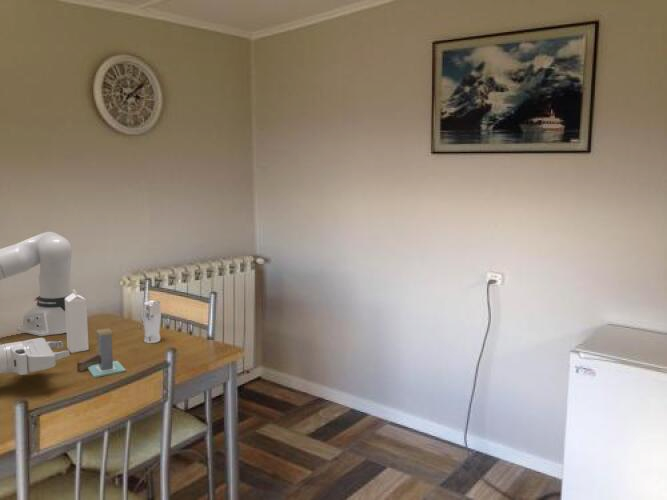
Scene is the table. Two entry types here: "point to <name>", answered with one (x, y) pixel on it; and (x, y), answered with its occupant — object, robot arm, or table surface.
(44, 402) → the table surface
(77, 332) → the milk
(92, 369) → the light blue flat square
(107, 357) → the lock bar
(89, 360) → the dark brown bar
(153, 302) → the beer glass
